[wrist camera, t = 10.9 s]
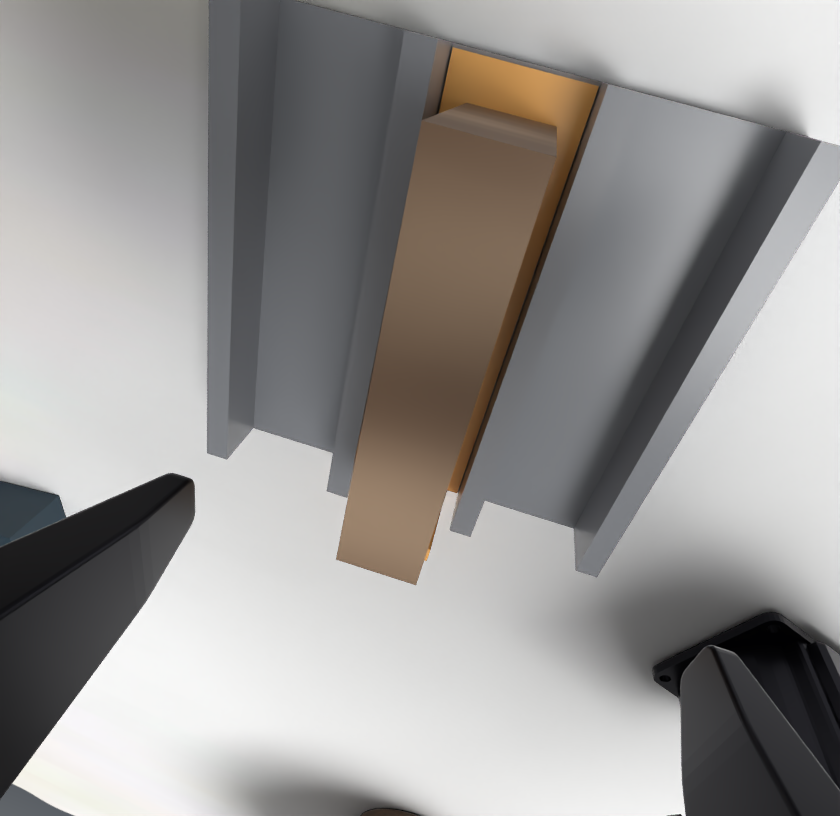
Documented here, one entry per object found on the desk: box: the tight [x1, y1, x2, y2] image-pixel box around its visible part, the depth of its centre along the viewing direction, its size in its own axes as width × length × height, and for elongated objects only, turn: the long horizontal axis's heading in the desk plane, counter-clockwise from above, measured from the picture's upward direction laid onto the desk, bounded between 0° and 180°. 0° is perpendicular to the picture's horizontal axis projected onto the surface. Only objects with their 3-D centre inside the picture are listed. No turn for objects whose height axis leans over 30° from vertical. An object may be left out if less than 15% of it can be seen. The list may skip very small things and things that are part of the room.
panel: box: [336, 103, 557, 585], centre depth 16 cm, size 12×2×6 cm, turn 168°
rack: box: [207, 0, 840, 577], centre depth 17 cm, size 15×15×4 cm
